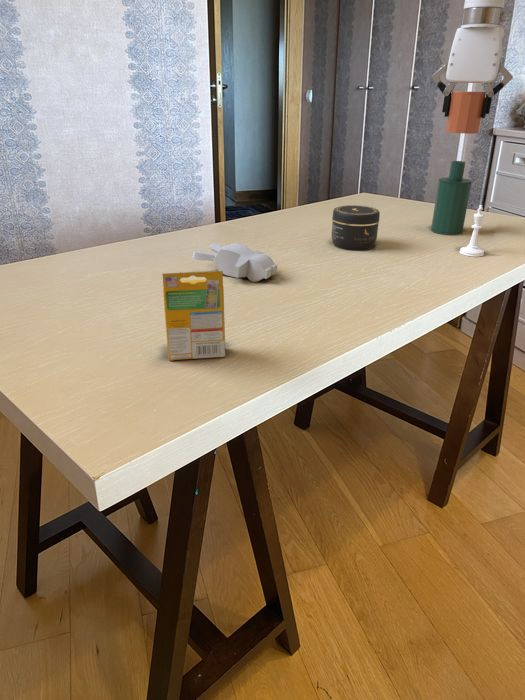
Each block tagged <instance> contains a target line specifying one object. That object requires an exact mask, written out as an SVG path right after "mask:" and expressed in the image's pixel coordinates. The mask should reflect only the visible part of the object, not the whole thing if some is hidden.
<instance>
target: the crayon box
mask: <svg viewBox="0 0 525 700" xmlns="http://www.w3.org/2000/svg"><path fill="white" fill-rule="evenodd" d="M161 275H162V283H163V284H162V293H163V307H164V322H165V332H166V334H165V335H166V345H167V359H168V361H169V362H173V361H179V360H192V359H193V360H196V359H209V358H210V359H212V358H226V335H225V334H226V333H225V332H226V329H225V327H226V326H225V325H226V323H225V292H224V289H225V288H224V274H223V271H218V270H212V271H211V270H209V271H189V272H186V271H185V272H167V273H166V272H164V273H162V274H161ZM190 277H195V278H205V279H190V280H189V279H188V280H187V278H190ZM184 278H185V279H186V280H181V279H184Z"/></svg>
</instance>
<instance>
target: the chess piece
mask: <svg viewBox="0 0 525 700" xmlns="http://www.w3.org/2000/svg"><path fill="white" fill-rule="evenodd" d="M483 210H484V207H483V205H482V204H479V206H478V208H477V210H476V211H477V213H474V214H473V221H474V224H472V225H471V228H472V229H473V231H472V234H471V237H470V240H469V243H468V244H466V246H462V247H460V249H459V251H458V253H459V254H460V255H462V256H466V257H475V258H477V257H484V255H485V250H484V249H483V248H481V247H479V246H480V245H479V244H478V243H479V231H480V229H483V226H482V225H481V223H482V221H483V219H484V218H485V215H484V214H483V213H482V211H483Z"/></svg>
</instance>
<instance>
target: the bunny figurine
mask: <svg viewBox="0 0 525 700" xmlns="http://www.w3.org/2000/svg"><path fill="white" fill-rule="evenodd" d="M208 247H209V250H210V251H211V252H208V251H203V250H193V254H192V256H191V259H192V260H194V261H195V260H196V261H207V262H208V261H209V262H213V263H214V264H215V267H216V269H217V271H223V275H225V276H228V277H232V278H236V279H237V278H247V279H248V280H249V281H251V282H253V283H255V282H259V281H262V280H263V279H265V280H267V279H269V278H271V276H274V275H276V274H277V272H278V267H279V266H278V264H276V263H275V262H274V260H273V259H272V257H271V256H270V255H268V254H266V253H264V252H262V251H255V250H252V249H251V248H250V247H248V246H247V245H245V244H242V243H238V242H233V243H230V244H226V245H224V246H222V245H220V244H219V243H210V244H209V245H208Z"/></svg>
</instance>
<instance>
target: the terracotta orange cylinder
mask: <svg viewBox="0 0 525 700" xmlns="http://www.w3.org/2000/svg"><path fill="white" fill-rule="evenodd" d="M451 93H452V94H451V101H450V107H449V113H448V117H447V119H446V126H445V133H449V134H451V133H452V134H466V135H468V134H473V135H474V134H479V133H480V129H481V124H482V118H481V114H482V108H483V103H484V98H485V97H486V94H487V91H478V90H477V91H473V90H472V91H470V90H469V91H468V90H467V91H466V90H453V91H452V92H451Z"/></svg>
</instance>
